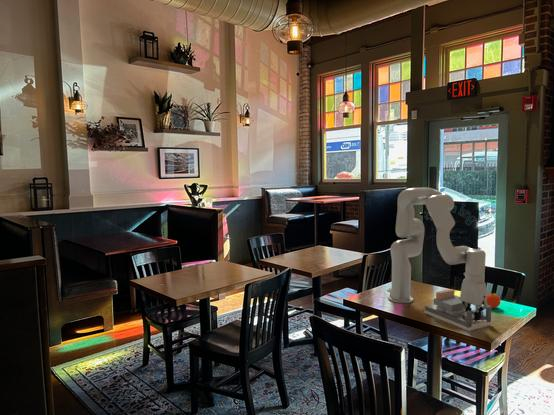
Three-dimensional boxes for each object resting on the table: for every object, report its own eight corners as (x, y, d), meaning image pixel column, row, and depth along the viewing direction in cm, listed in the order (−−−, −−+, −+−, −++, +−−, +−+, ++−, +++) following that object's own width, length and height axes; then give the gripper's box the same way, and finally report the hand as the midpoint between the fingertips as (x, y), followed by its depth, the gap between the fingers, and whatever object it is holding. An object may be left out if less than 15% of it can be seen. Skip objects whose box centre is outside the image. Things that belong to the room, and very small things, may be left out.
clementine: (491, 304, 208) (492, 290, 208) (504, 308, 202) (505, 294, 202) (481, 306, 205) (481, 292, 204) (494, 310, 199) (495, 296, 198)
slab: (433, 303, 191) (433, 292, 191) (452, 299, 197) (453, 288, 197) (451, 310, 183) (451, 298, 182) (470, 306, 189) (471, 294, 188)
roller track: (424, 313, 196) (424, 295, 195) (445, 308, 202) (446, 291, 202) (468, 331, 174) (469, 311, 174) (490, 324, 181) (491, 306, 180)
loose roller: (461, 319, 180) (462, 310, 180) (475, 316, 185) (475, 307, 184) (469, 322, 177) (470, 313, 176) (483, 319, 181) (483, 310, 181)
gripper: (452, 274, 184) (450, 313, 186) (486, 283, 170) (484, 326, 172) (464, 272, 188) (462, 311, 190) (498, 281, 173) (495, 323, 175)
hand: (472, 318), depth 181 cm, fingers closed on loose roller, 3 cm apart
